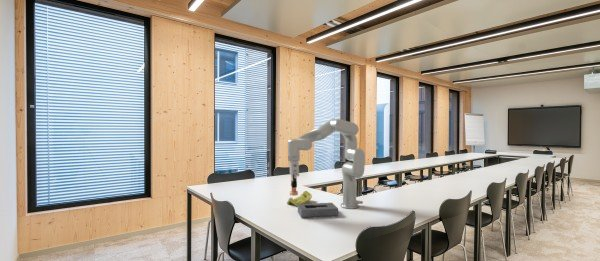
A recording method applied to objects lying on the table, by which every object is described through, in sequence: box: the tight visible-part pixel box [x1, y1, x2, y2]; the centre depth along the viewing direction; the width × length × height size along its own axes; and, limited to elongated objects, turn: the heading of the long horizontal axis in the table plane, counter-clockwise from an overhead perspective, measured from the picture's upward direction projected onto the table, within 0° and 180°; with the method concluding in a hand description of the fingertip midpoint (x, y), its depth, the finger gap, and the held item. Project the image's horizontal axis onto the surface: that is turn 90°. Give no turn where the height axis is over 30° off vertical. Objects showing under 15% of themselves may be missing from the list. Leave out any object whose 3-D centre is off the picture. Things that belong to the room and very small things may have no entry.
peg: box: [289, 177, 299, 197], centre depth 183 cm, size 5×5×11 cm
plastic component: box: [286, 190, 313, 208], centre depth 212 cm, size 20×7×10 cm
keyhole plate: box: [297, 202, 339, 219], centre depth 186 cm, size 24×14×5 cm, turn 100°
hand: (293, 186), depth 183 cm, fingers closed on peg, 3 cm apart
